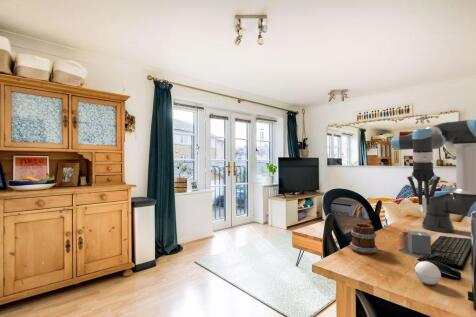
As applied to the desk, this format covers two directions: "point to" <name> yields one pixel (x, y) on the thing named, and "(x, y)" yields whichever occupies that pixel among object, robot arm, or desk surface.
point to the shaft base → (407, 251)
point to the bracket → (403, 239)
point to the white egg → (427, 273)
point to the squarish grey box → (419, 242)
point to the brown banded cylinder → (363, 238)
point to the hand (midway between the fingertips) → (423, 211)
